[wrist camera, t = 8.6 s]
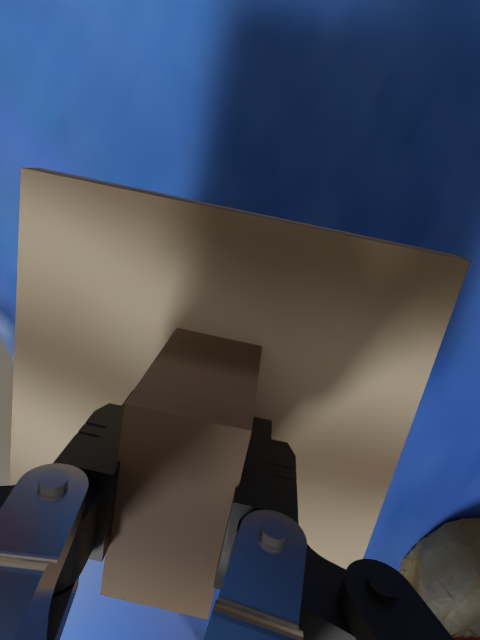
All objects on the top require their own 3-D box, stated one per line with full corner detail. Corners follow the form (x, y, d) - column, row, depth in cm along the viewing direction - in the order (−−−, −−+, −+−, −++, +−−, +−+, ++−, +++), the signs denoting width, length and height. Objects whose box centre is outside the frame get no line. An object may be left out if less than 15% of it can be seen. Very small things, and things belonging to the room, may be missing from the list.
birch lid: (40, 167, 13) (-123, 164, 8) (456, 254, 13) (578, 312, 7) (23, 504, 17) (-94, 654, 12) (343, 577, 16) (371, 764, 11)
